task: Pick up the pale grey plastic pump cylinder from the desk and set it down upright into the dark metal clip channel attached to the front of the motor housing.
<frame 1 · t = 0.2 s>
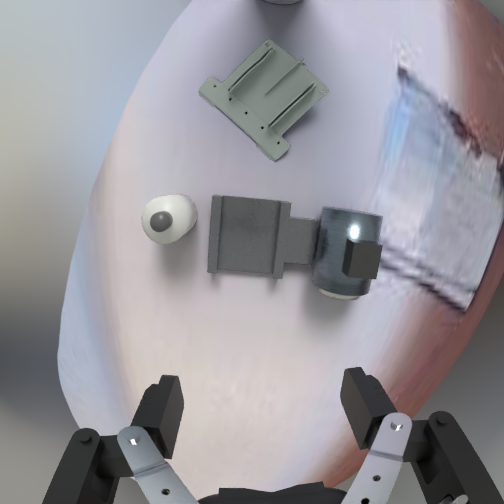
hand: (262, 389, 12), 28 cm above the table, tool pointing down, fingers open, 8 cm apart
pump: (177, 214, 38), on the table
motor: (284, 237, 39), on the table
metal bracket: (267, 96, 35), on the table
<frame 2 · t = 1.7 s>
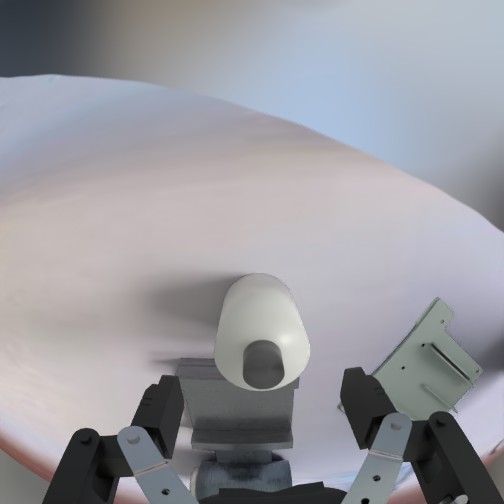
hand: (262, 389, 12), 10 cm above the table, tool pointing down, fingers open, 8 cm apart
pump: (258, 306, 22), on the table
motor: (242, 430, 26), on the table
metal bracket: (416, 373, 25), on the table
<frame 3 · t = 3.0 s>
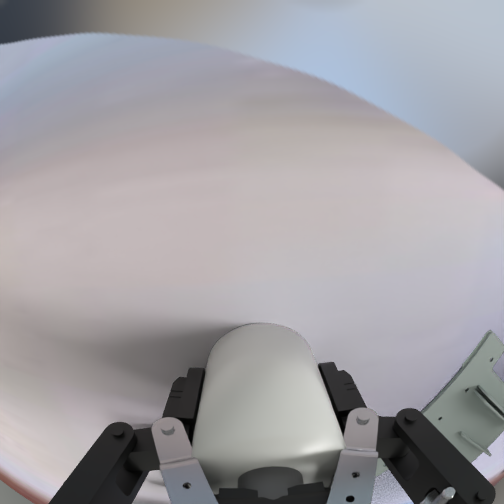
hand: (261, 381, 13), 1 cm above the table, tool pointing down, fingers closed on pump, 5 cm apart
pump: (261, 369, 14), on the table, touching gripper
metal bracket: (450, 417, 17), on the table
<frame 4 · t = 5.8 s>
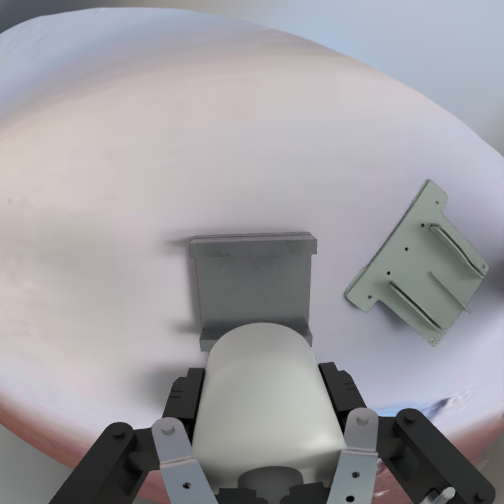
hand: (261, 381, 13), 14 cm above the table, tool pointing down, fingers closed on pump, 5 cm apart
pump: (261, 368, 14), point 12 cm above the table, touching gripper
motor: (255, 334, 27), on the table
metal bracket: (421, 268, 27), on the table
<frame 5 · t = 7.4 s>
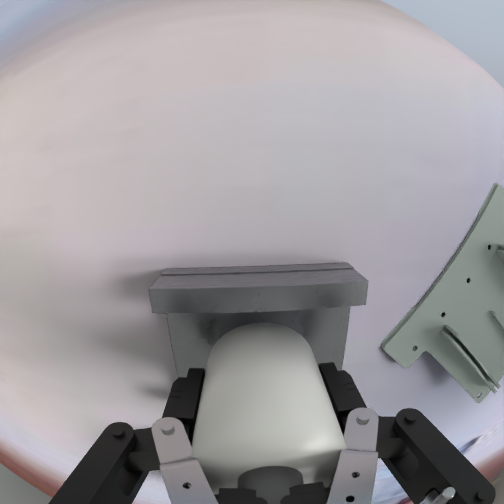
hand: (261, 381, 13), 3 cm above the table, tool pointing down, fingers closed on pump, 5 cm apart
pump: (261, 368, 14), point 2 cm above the table, touching gripper
motor: (260, 404, 17), on the table
metal bracket: (475, 303, 17), on the table
when the fingers open (3 cm above the table, at t = 8.4 s): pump stays where it is, resting on motor.
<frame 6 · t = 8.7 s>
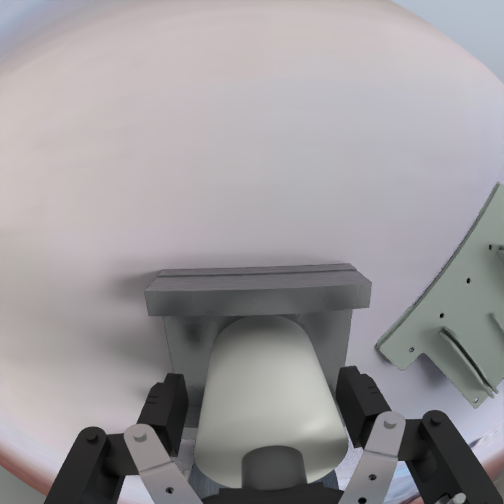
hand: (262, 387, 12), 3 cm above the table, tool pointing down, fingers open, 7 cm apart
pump: (262, 358, 15), point 1 cm above the table, touching motor
motor: (260, 408, 17), on the table
metal bracket: (474, 306, 16), on the table
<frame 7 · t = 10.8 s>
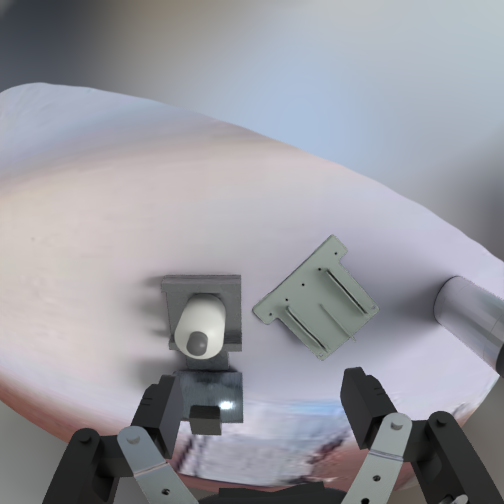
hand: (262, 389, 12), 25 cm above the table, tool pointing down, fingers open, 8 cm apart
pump: (205, 312, 37), point 1 cm above the table, touching motor
motor: (207, 340, 39), on the table
metal bracket: (319, 300, 39), on the table
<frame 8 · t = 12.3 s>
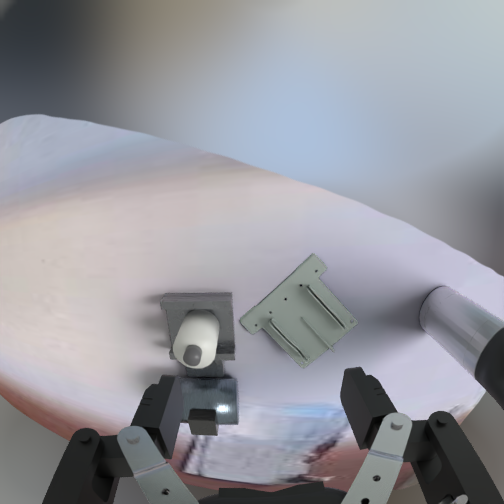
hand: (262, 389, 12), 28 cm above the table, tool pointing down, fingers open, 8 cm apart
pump: (201, 326, 41), point 1 cm above the table, touching motor
motor: (204, 350, 43), on the table
metal bracket: (302, 312, 43), on the table
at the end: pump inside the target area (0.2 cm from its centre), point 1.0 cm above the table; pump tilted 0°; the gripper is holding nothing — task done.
